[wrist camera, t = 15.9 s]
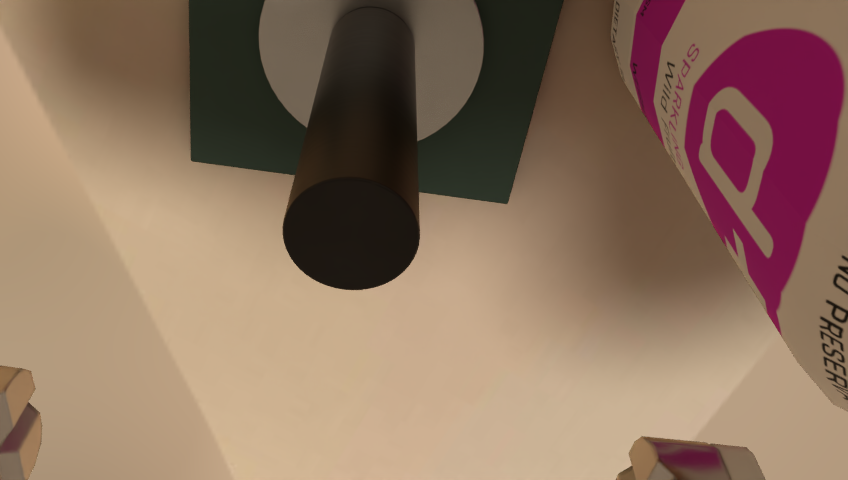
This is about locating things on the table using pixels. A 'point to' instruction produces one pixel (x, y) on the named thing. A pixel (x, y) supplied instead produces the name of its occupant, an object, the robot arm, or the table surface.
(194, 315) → the table surface
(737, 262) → the supplement can
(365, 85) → the coffee tamper
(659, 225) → the table surface
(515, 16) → the mat
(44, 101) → the table surface
